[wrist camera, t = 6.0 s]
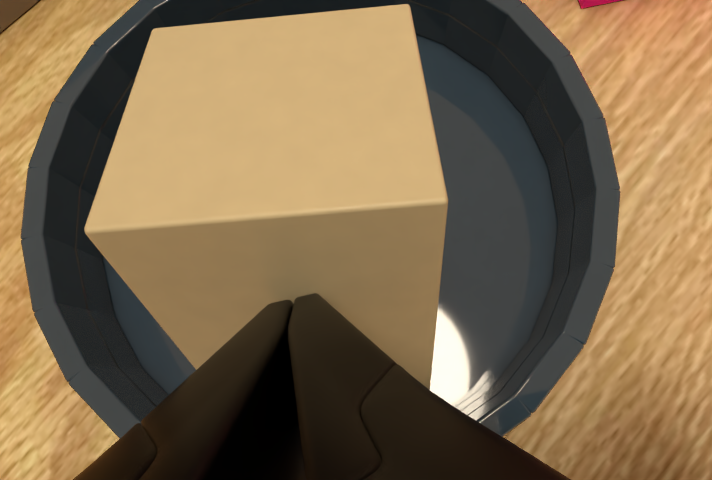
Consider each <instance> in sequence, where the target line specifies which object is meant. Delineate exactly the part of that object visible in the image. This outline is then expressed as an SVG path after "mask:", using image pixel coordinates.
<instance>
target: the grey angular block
mask: <svg viewBox="0 0 712 480" xmlns="http://www.w3.org/2000/svg"><path fill="white" fill-rule="evenodd" d="M38 1H39V0H0V32H2V31H3V30H4V29H5V28H6V27H8V26H9V25H10V24H11V23H12V22H14V21H15V20H16V19H17V18H18V17H20V16H21V15H22V14H23V13H24V12H26V11H27V10H28V9H29V8H31V7H32V6H33V5H34V4H35V3H37V2H38Z"/></svg>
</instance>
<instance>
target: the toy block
mask: <svg viewBox="0 0 712 480" xmlns="http://www.w3.org/2000/svg"><path fill="white" fill-rule="evenodd" d="M578 1H579V4H580V6H581V8H586V7H591V6H596V5H601V4H606V3H611V2H616V1H621V0H578Z"/></svg>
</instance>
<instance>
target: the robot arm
mask: <svg viewBox="0 0 712 480" xmlns="http://www.w3.org/2000/svg"><path fill="white" fill-rule="evenodd" d="M73 480H570V479H569V478H567V477H566V476H564V475H562V474H561V473H559V472H558V471H556V470H554V469H553V468H551V467H550V466H548V465H546V464H545V463H543V462H542V461H540V460H538V459H537V458H535V457H534V456H532V455H530V454H529V453H527V452H526V451H524V450H522V449H521V448H519V447H518V446H516V445H514V444H513V443H511V442H510V441H508V440H506V439H505V438H503V437H502V436H500V435H498V434H497V433H495V432H494V431H492V430H490V429H489V428H487V427H486V426H484V425H482V424H481V423H479V422H478V421H476V420H474V419H473V418H471V417H470V416H468V415H466V414H465V413H463V412H462V411H460V410H458V409H457V408H455V407H454V406H452V405H451V404H449V403H448V402H446V401H445V400H443V399H442V398H440V397H439V396H437V395H436V394H434V393H433V392H432V391H430V390H429V389H428V388H427V387H425V386H424V385H423V384H421V383H420V382H419V381H418V380H416V379H415V378H414V377H413V376H412V375H410V374H409V373H408V372H407V371H406V370H405V369H404V368H403V367H401V366H400V365H399V364H397V363H396V362H395V361H394V360H392V359H391V358H390V357H389V356H388V355H387V354H386V353H384V352H383V351H382V350H381V349H380V348H379V347H378V346H377V345H375V344H374V343H373V342H372V341H371V340H370V339H369V338H367V337H366V336H365V335H364V334H363V333H362V332H361V331H360V330H358V329H357V328H356V327H355V326H354V325H353V324H352V323H351V322H349V321H348V320H347V319H346V318H345V317H344V316H343V315H341V314H340V313H339V312H338V311H337V310H336V309H335V308H334V307H332V306H331V305H330V304H329V303H328V302H327V301H326V300H324V299H323V298H322V297H321V296H320V295H319V294H317V293H314V294H309V295H305V296H300V297H297V298H296V299H295V300H294V304H293V302H292V301H291V300H283V301H278V302H274V303H270V304H268V305H267V306H266V307H265V308H263V309H262V310H261V311H260V312H259V313H258V314H257V315H256V316H255V317H254V318H253V319H251V320H250V321H249V322H248V323H247V324H246V325H245V326H244V327H243V328H242V329H241V330H239V331H238V332H237V333H236V334H235V335H234V336H233V337H232V338H231V339H230V340H229V341H227V342H226V343H225V344H224V345H223V346H222V347H221V348H220V349H219V350H218V351H217V352H215V353H214V354H213V355H212V356H211V357H210V358H209V359H208V360H207V361H206V362H205V363H203V364H202V365H201V366H200V367H199V368H198V369H197V370H196V371H195V372H194V373H192V374H191V375H190V376H189V377H188V378H187V379H186V380H185V381H184V382H183V383H182V384H180V385H179V386H178V387H177V388H176V389H175V390H174V391H173V392H172V393H171V394H170V395H168V396H167V397H166V398H165V399H164V400H163V401H162V402H161V403H160V404H159V405H158V406H156V407H155V408H154V409H153V410H152V411H151V412H150V413H149V414H148V415H147V416H146V417H144V418H143V419H142V421H141V424H140V423H137V424H135V425H134V426H133V427H132V428H131V429H130V430H129V431H128V432H127V433H126V434H125V435H124V436H122V437H121V438H120V439H119V440H118V441H117V442H116V443H115V444H114V445H112V446H111V447H110V448H109V449H108V450H107V451H106V452H104V453H103V454H102V455H101V456H100V457H99V458H98V459H97V460H95V461H94V462H93V463H92V464H91V465H90V466H89V467H87V468H86V469H85V470H84V471H83V472H81V473H80V474H79V475H78V476H77V477H75V478H74V479H73Z"/></svg>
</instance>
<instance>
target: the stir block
mask: <svg viewBox="0 0 712 480" xmlns="http://www.w3.org/2000/svg"><path fill="white" fill-rule="evenodd" d="M447 208H448V196H447V191H446V186H445V181H444V176H443V171H442V166H441V161H440V156H439V151H438V145H437V140H436V135H435V130H434V125H433V120H432V115H431V110H430V105H429V100H428V95H427V90H426V84H425V79H424V74H423V69H422V64H421V59H420V54H419V49H418V44H417V39H416V34H415V28H414V23H413V18H412V13H411V8H410V6H409V5H408V4H401V5H390V6H380V7H370V8H359V9H349V10H339V11H328V12H318V13H308V14H298V15H287V16H277V17H267V18H256V19H246V20H236V21H225V22H215V23H205V24H194V25H184V26H174V27H163V28H155V29H153V30H152V32H151V35H150V37H149V40H148V43H147V46H146V49H145V52H144V55H143V58H142V61H141V64H140V67H139V70H138V73H137V75H136V78H135V81H134V84H133V87H132V90H131V93H130V96H129V99H128V102H127V105H126V108H125V111H124V113H123V116H122V119H121V122H120V125H119V128H118V131H117V134H116V137H115V140H114V143H113V146H112V149H111V151H110V154H109V157H108V160H107V163H106V166H105V169H104V172H103V175H102V178H101V181H100V184H99V187H98V189H97V192H96V195H95V198H94V201H93V204H92V207H91V210H90V213H89V216H88V219H87V222H86V225H85V227H84V230H85V234H86V235H87V236H88V237H89V239H90V240H91V241H92V242H93V244H94V245H95V246H96V247H97V249H98V250H99V251H100V252H101V253H102V255H103V256H104V257H105V258H106V260H107V261H108V262H109V263H110V265H111V266H112V267H113V268H114V269H115V271H116V272H117V273H118V274H119V276H120V277H121V278H122V279H123V280H124V282H125V283H126V284H127V285H128V287H129V288H130V289H131V290H132V292H133V293H134V294H135V295H136V296H137V298H138V299H139V300H140V301H141V303H142V304H143V305H144V306H145V308H146V309H147V310H148V311H149V312H150V314H151V315H152V316H153V317H154V319H155V320H156V321H157V322H158V323H159V325H160V326H161V327H162V328H163V330H164V331H165V332H166V333H167V335H168V336H169V337H170V338H171V339H172V341H173V342H174V343H175V344H176V346H177V347H178V348H179V349H180V351H181V352H182V353H183V354H184V355H185V357H186V358H187V359H188V360H189V362H190V363H191V364H192V365H193V367H194V368H195V369H196V370H197V369H198V368H199V367H200V366H201V365H202V364H203V363H205V362H206V361H207V360H208V359H209V358H210V357H211V356H212V355H213V354H214V353H215V352H217V351H218V350H219V349H220V348H221V347H222V346H223V345H224V344H225V343H226V342H227V341H229V340H230V339H231V338H232V337H233V336H234V335H235V334H236V333H237V332H238V331H239V330H241V329H242V328H243V327H244V326H245V325H246V324H247V323H248V322H249V321H250V320H251V319H253V318H254V317H255V316H256V315H257V314H258V313H259V312H260V311H261V310H262V309H263V308H265V307H266V306H267V305H268V304H270V303H274V302H278V301H283V300H291V301H292V302H293V304H294V300H295V299H296V298H297V297H300V296H305V295H309V294H314V293H317V294H319V295H320V296H321V297H322V298H323V299H324V300H326V301H327V302H328V303H329V304H330V305H331V306H332V307H334V308H335V309H336V310H337V311H338V312H339V313H340V314H341V315H343V316H344V317H345V318H346V319H347V320H348V321H349V322H351V323H352V324H353V325H354V326H355V327H356V328H357V329H358V330H360V331H361V332H362V333H363V334H364V335H365V336H366V337H367V338H369V339H370V340H371V341H372V342H373V343H374V344H375V345H377V346H378V347H379V348H380V349H381V350H382V351H383V352H384V353H386V354H387V355H388V356H389V357H390V358H391V359H392V360H394V361H395V362H396V363H397V364H399V365H400V366H401V367H403V368H404V369H405V370H406V371H407V372H408V373H409V374H410V375H412V376H413V377H414V378H415V379H416V380H418V381H419V382H420V383H421V384H423V385H424V386H425V387H427V388H428V389H429V390H430V383H431V372H432V362H433V352H434V342H435V331H436V321H437V311H438V301H439V290H440V280H441V270H442V260H443V249H444V239H445V229H446V219H447Z"/></svg>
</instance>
